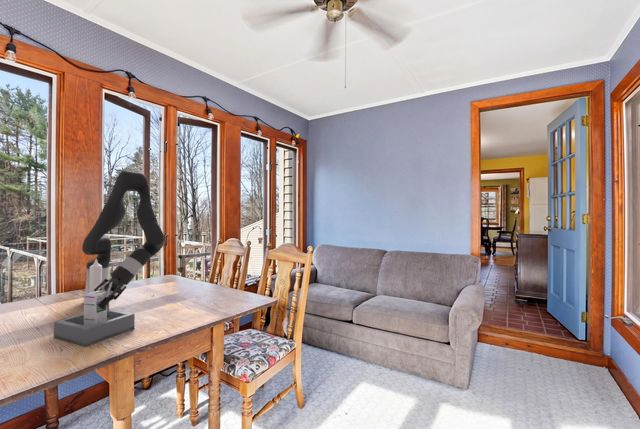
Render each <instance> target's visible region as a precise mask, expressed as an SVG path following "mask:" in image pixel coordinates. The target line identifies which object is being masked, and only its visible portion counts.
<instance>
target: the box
mask: <svg viewBox="0 0 640 429" xmlns="http://www.w3.org/2000/svg"><path fill="white" fill-rule="evenodd" d="M135 315H136V314H135V313H133V312H129V311H124V310H120V309H119V310H118V309H114V308H110V307H109V320H108V321H105V322H102V323H98V324H95V325H92V326H89V327H88V326H84V312H83V313H80V314H76V315H72V316H69V317H66V318H62V319H59V320H54V322H53V339H57V340H61V341H64V342H66V343H71V344H73V345H77V346H78V345H79V346H81V347H85V348H87V347H90V346H92V345H95V344H97V343H100V342H102V341H105V340H108V339H111V338H113V337H115V336H116V337H117V336H118V335H121V334H123V333H126V332H130V331H132V330H134V329H135V324H136V323H135Z"/></svg>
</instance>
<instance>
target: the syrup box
mask: <svg viewBox="0 0 640 429" xmlns="http://www.w3.org/2000/svg"><path fill="white" fill-rule="evenodd" d="M107 293H108V292H107V291H96V292H92V293H88V294H83V313H84V326H88V327H89V326H92V325H95V324H98V323H102V322H105V321H108V320H109V308H110V302H109V303H108V304H107V305H106V306H105V307H104V308H103V309H102V308H100V307H98V304H99V303H100V302H101V301H102V300H103V299H104V298H105V297H106V296H107ZM106 298H107V297H106Z"/></svg>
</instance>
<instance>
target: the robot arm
mask: <svg viewBox="0 0 640 429" xmlns="http://www.w3.org/2000/svg"><path fill="white" fill-rule="evenodd" d="M127 192H134V193H135V192H136V193H137V194H138V196H139V203H138V206H137V208H136V218H137V220H138V223H139V226H140V228H141V230H142V231H143V234H144V237H145V242H144V243H143V245H141V246H140V247H137V248H136V249H134V250H133V251H132V252H131V253H130V254H129V255H128V256H127V257H126V258H124V260H123V261H121V263H119V265H117V266H116V268H114V270H113V271H112V272H111V273H110V262H111V252H112V240H111V238H110V237H109V236H107V233H109V232H111V231H113V230H114V229H115V228H117V227H118V226H119V225H120V224H121V223H122V220H123V219H124V217H125V215H126V214H127V213H126V212H127V210H126V206H125V203H124V196H125V194H126V193H127ZM164 244H165V235H164V233H163V231H162V229H161V226H160V225H159V222H158V218H157V216H156V214H155V212H154V208H153V205H152V199H151V194H150V188H149V182H148V179H147V177H146V175H145V173H142V172H138V171H132V170H122V171H121V172H119V173H118V176H117V177H116V179H115V182H114V185H113V188H112V190H111V192H110V195H109V197H108V199H107V200H106V203H105V204H104V206H103V208H102V209H101V211H100V213H99V216H98V218H97V220H96V222H95V223H94V225H93V226H92V228H91V229H90V230H89V232H88V234H87V235H86V237H85V238H84V240H83V242H82V245H81V246H82V248H81V250H82V251H83V254H85V255H88V256H94V255H97V256H96V257H95V258H94V259H93V260H90V261H88V262H87V263H86V282H85V290H84V291H85V294H88V293H89V283H90V266H92V265H93V264H94V262H95V259H97V262H98V264H100V265H102V282H101V283H100V284H99V285H98V286H97V287H96V288H95V289H94V291H95V292H96V291H107V292H108V293H107V296H106V297H107V298H106V297H105V298H104V299H103V300H102V301H101V302H100V303H99V304H98V307H100V308H102V309H103V308H104V307H105V306H106V305H107V304H108V303H109V304H110V302H111V301H113V300H114V301H116V300H117V299H118V298H119V297H120V295H122V293H123V292H124V291H125V290H126V289H127V285H129V283H130V282H131V281H132V280H133V279H134V278H135V277H136V276H137V275H138V273H139V272H140V271H141V270H142V268H143V267H144V266H145V265H146V264H147V262H148V261H149V260H150V259H151V258H153V256H155V255H156V254H157V253H159V252H160V250H162V248H163V247H164ZM110 277H111V278H110ZM99 288H100V289H99Z"/></svg>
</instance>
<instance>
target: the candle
mask: <svg viewBox="0 0 640 429" xmlns="http://www.w3.org/2000/svg"><path fill="white" fill-rule="evenodd" d="M94 259H95V258H94ZM101 282H102V265H100V264H98V262H97V259H95V262H94V264H93V265H92V266H90V283H89V293H92V292H95V291H94V289H95V288H96V287H97V286H98V285H99V284H100V283H101ZM99 289H100V288H99Z"/></svg>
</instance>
